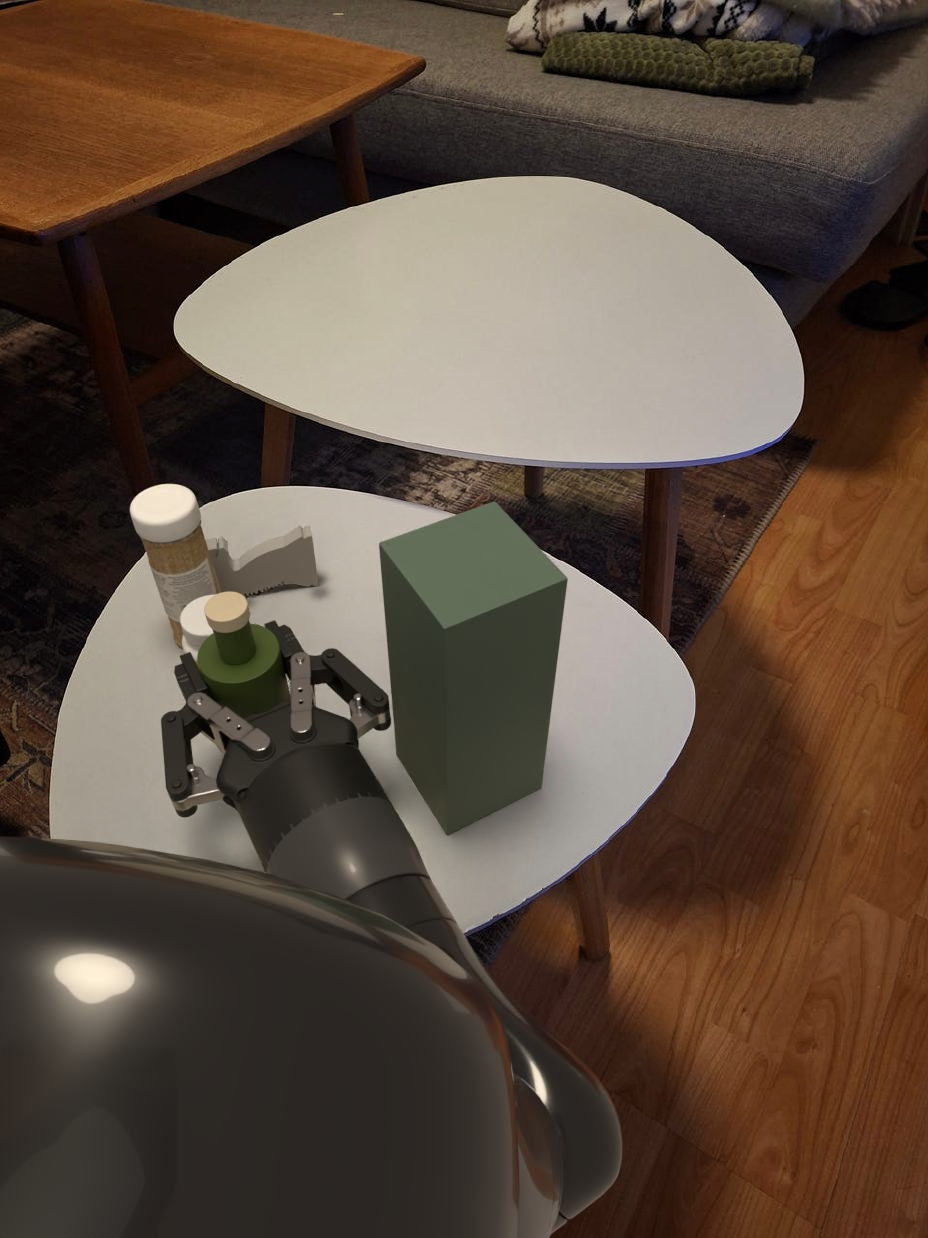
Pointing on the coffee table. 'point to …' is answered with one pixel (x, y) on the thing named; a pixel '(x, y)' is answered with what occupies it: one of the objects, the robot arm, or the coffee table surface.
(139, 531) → the sprinkles bottle
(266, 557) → the grey tape dispenser
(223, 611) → the olive bottle
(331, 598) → the coffee table surface
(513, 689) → the pedestal
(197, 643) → the supplement bottle
